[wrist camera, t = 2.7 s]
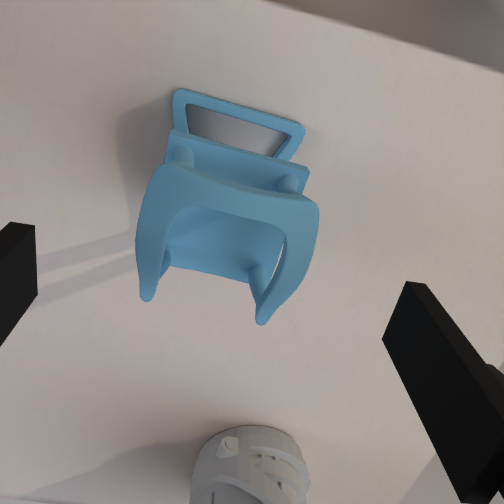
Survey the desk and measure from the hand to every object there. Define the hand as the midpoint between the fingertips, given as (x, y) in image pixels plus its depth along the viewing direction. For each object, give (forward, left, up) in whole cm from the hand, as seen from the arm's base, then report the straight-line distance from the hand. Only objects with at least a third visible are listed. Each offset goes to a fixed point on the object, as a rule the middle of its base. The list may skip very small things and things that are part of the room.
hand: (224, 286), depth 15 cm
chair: (0, 0, -13) cm, 13 cm away
